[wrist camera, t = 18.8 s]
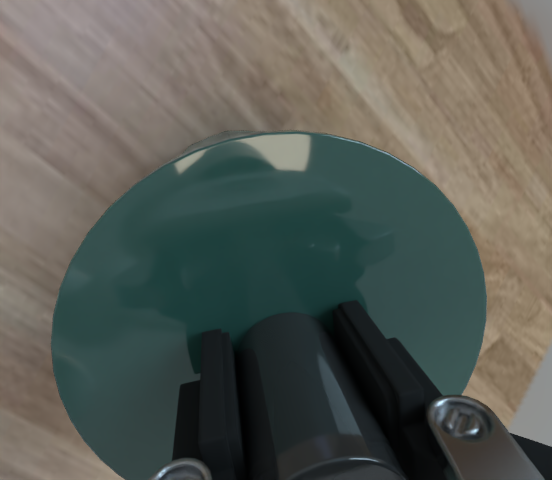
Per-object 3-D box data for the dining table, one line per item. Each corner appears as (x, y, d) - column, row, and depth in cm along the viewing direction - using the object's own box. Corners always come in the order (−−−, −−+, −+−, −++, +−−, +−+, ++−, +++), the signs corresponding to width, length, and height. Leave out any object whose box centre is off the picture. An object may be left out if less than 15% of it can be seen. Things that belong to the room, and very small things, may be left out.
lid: (92, 504, 14) (7, 792, 8) (31, 122, 10) (-230, 150, 4) (431, 464, 16) (559, 671, 10) (500, 133, 12) (782, 163, 6)
